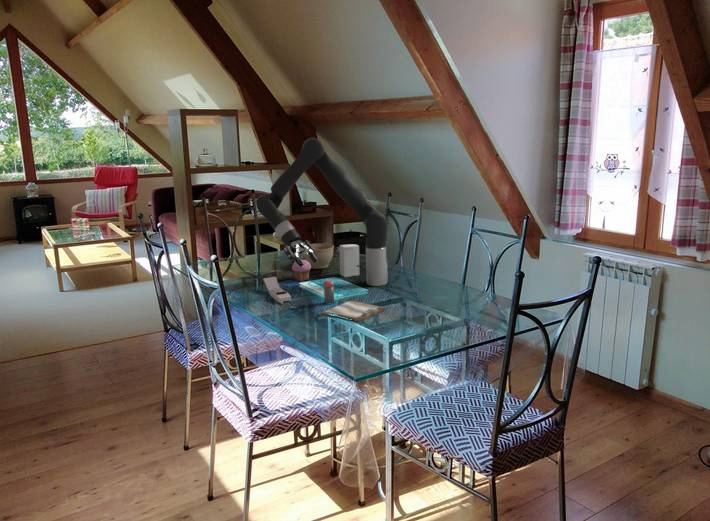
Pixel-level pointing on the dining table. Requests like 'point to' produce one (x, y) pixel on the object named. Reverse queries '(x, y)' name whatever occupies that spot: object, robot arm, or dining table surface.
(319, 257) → the planter bowl
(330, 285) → the grey and red cylinder
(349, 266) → the skincare box
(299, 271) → the cupcake
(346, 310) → the clipboard
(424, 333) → the dining table surface
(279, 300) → the mobile phone
